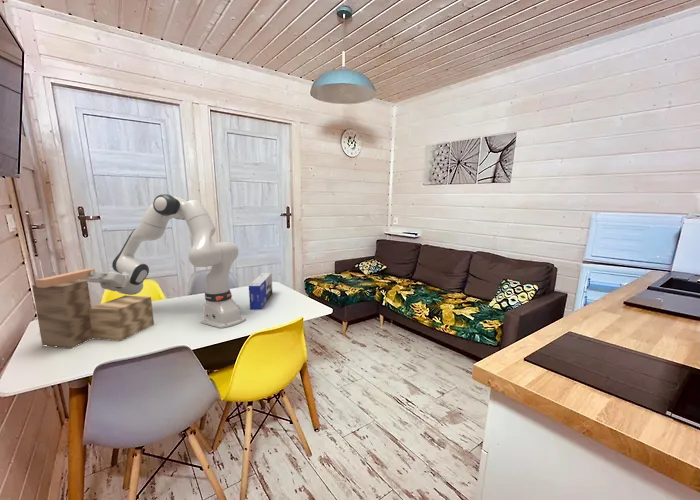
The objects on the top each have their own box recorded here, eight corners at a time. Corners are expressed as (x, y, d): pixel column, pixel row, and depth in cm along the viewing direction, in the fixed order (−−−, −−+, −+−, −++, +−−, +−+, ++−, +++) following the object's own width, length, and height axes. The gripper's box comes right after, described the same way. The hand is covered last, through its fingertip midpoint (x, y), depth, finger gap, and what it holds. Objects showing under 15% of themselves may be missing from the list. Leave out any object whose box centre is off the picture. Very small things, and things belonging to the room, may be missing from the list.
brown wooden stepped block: (104, 321, 151) (97, 270, 147) (153, 324, 147) (148, 272, 143) (42, 346, 124) (32, 285, 120) (101, 350, 120) (92, 288, 116)
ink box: (262, 293, 197) (261, 272, 195) (273, 293, 197) (272, 272, 195) (249, 310, 167) (247, 285, 165) (261, 309, 167) (260, 285, 165)
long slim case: (87, 275, 137) (86, 268, 137) (95, 275, 137) (94, 269, 136) (36, 287, 118) (35, 279, 117) (45, 287, 117) (44, 280, 117)
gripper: (95, 273, 149) (67, 265, 136) (131, 275, 146) (107, 266, 134) (90, 286, 147) (62, 278, 134) (127, 288, 144) (101, 280, 131)
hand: (84, 272), depth 134 cm, fingers closed on long slim case, 4 cm apart
